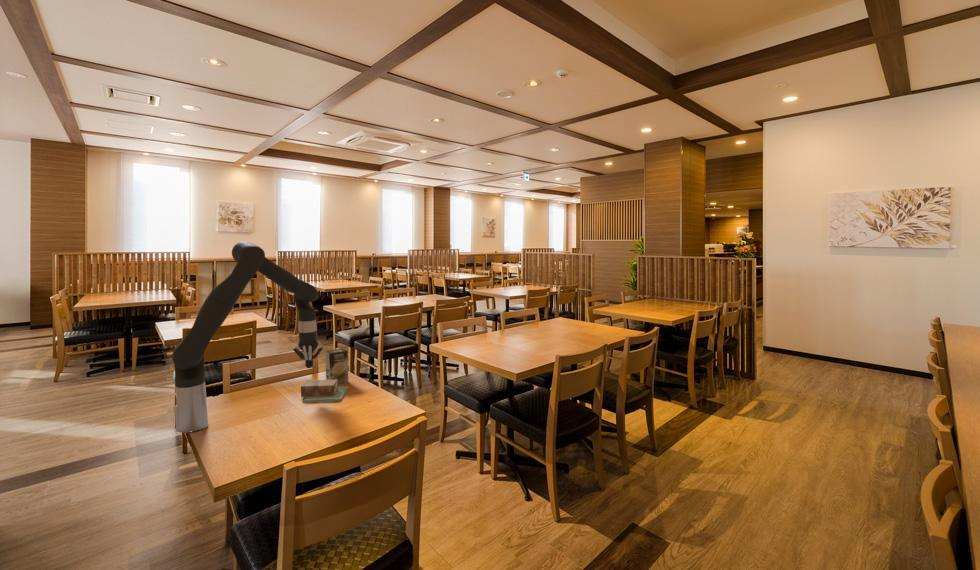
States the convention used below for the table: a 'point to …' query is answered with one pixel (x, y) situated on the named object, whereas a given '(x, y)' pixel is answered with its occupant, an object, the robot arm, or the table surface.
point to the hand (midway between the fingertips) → (309, 367)
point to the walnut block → (319, 388)
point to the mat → (336, 397)
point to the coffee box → (337, 365)
